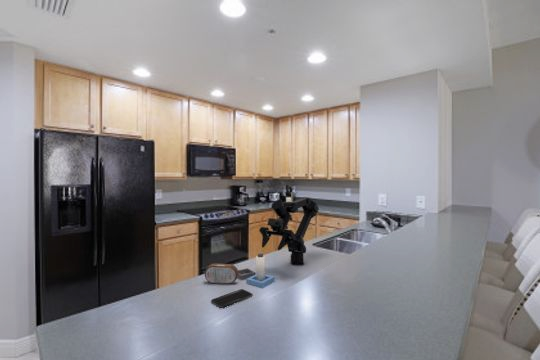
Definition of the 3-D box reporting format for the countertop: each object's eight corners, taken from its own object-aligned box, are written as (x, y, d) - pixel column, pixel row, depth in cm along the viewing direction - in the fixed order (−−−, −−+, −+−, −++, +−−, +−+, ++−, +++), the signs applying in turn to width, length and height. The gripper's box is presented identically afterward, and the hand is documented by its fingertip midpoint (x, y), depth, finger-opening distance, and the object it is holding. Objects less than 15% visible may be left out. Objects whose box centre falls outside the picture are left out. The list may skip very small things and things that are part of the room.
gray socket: (247, 272, 129) (247, 268, 129) (255, 276, 123) (255, 272, 123) (234, 275, 125) (233, 271, 125) (241, 280, 119) (241, 275, 119)
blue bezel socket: (259, 277, 122) (259, 273, 122) (274, 281, 117) (274, 276, 117) (246, 283, 115) (246, 278, 115) (262, 288, 109) (262, 283, 109)
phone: (209, 300, 97) (241, 288, 107) (209, 303, 97) (242, 291, 107) (221, 307, 91) (254, 294, 102) (221, 310, 91) (254, 297, 102)
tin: (238, 282, 116) (238, 263, 116) (237, 285, 113) (236, 265, 113) (206, 281, 118) (206, 263, 118) (203, 284, 115) (203, 265, 115)
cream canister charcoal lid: (263, 280, 118) (263, 252, 118) (266, 283, 114) (266, 255, 115) (255, 281, 117) (255, 253, 117) (257, 284, 113) (257, 256, 113)
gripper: (261, 210, 132) (247, 236, 123) (292, 213, 121) (279, 241, 112) (270, 224, 138) (257, 249, 129) (300, 227, 127) (289, 255, 118)
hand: (270, 248), depth 122 cm, fingers open, 9 cm apart
